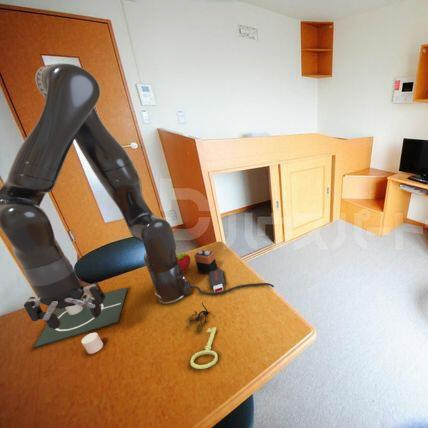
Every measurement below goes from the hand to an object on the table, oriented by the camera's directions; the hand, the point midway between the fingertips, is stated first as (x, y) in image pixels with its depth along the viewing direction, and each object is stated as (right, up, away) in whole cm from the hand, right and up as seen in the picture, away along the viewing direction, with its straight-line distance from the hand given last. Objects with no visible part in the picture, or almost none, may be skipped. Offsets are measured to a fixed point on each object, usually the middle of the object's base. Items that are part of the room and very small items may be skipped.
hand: (78, 320), depth 66 cm
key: (+34, -11, +5) cm, 36 cm away
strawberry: (+9, +5, +37) cm, 39 cm away
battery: (+19, +5, +38) cm, 43 cm away
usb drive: (+26, +2, +31) cm, 40 cm away
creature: (+27, -7, +14) cm, 31 cm away
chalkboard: (-13, -5, +16) cm, 21 cm away
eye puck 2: (0, -10, +5) cm, 11 cm away
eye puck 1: (-17, -4, +16) cm, 24 cm away
